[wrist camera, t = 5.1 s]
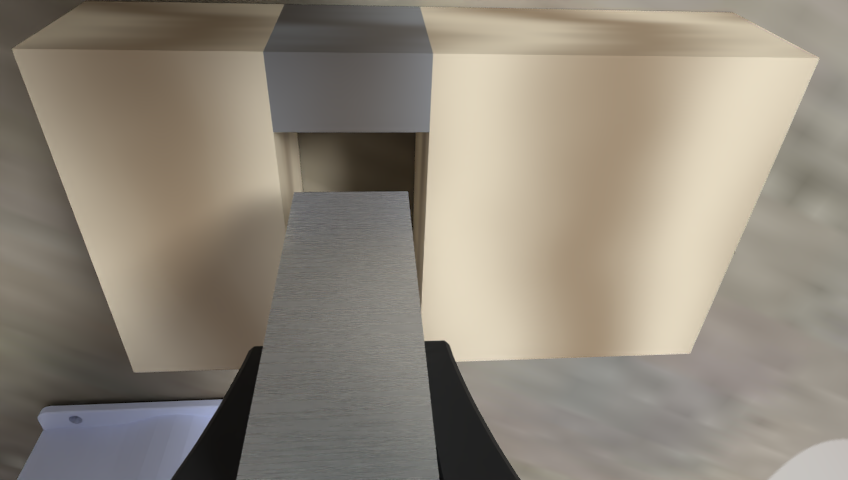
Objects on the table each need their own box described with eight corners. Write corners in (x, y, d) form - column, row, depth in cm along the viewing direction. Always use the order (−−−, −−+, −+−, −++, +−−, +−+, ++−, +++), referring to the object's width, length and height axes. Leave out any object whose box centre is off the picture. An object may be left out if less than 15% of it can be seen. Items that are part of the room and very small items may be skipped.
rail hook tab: (311, 352, 16) (278, 654, 10) (293, 192, 13) (234, 489, 7) (404, 349, 16) (424, 642, 10) (408, 191, 13) (439, 479, 7)
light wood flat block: (169, 288, 21) (134, 372, 18) (86, 0, 15) (10, 48, 12) (644, 277, 23) (689, 353, 19) (733, 12, 17) (819, 57, 14)
